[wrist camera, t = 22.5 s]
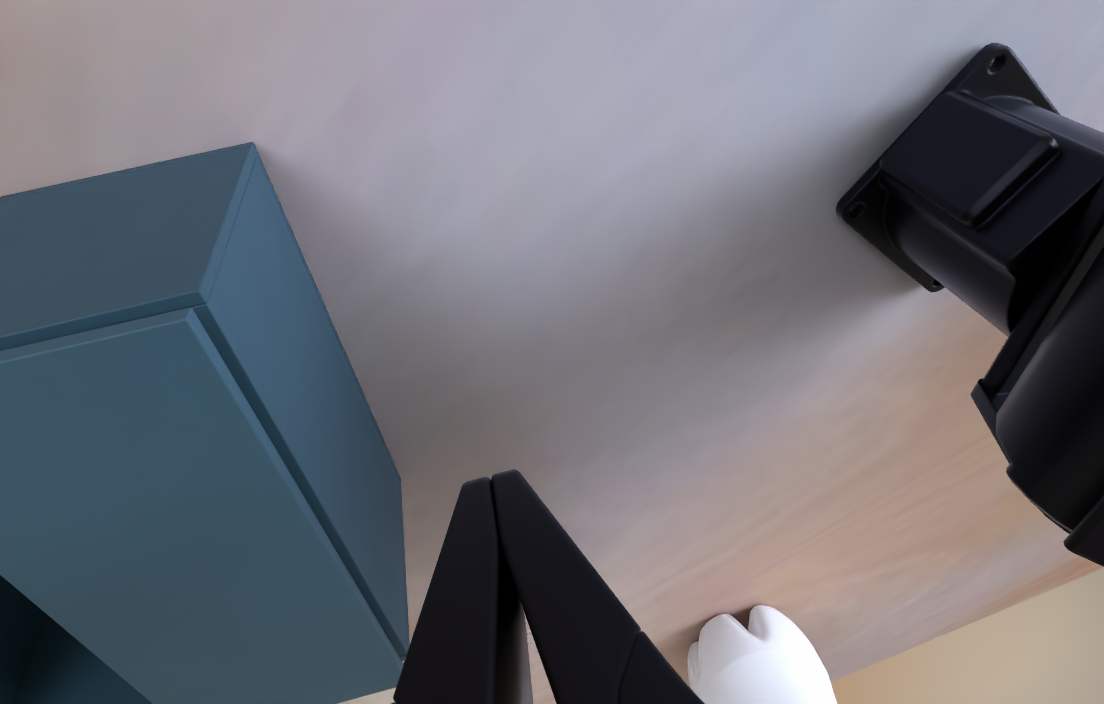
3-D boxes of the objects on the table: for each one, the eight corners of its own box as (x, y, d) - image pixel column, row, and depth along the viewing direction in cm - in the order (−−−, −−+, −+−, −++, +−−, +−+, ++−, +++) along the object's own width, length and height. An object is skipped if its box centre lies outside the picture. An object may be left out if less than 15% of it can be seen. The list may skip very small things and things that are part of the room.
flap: (191, 305, 12) (187, 318, 11) (408, 671, 20) (408, 684, 20) (-184, 392, 11) (-200, 408, 11) (200, 728, 20) (197, 743, 19)
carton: (253, 141, 17) (199, 289, 12) (400, 479, 26) (410, 658, 20) (-264, 253, 16) (-592, 474, 11) (67, 566, 25) (-20, 780, 19)
